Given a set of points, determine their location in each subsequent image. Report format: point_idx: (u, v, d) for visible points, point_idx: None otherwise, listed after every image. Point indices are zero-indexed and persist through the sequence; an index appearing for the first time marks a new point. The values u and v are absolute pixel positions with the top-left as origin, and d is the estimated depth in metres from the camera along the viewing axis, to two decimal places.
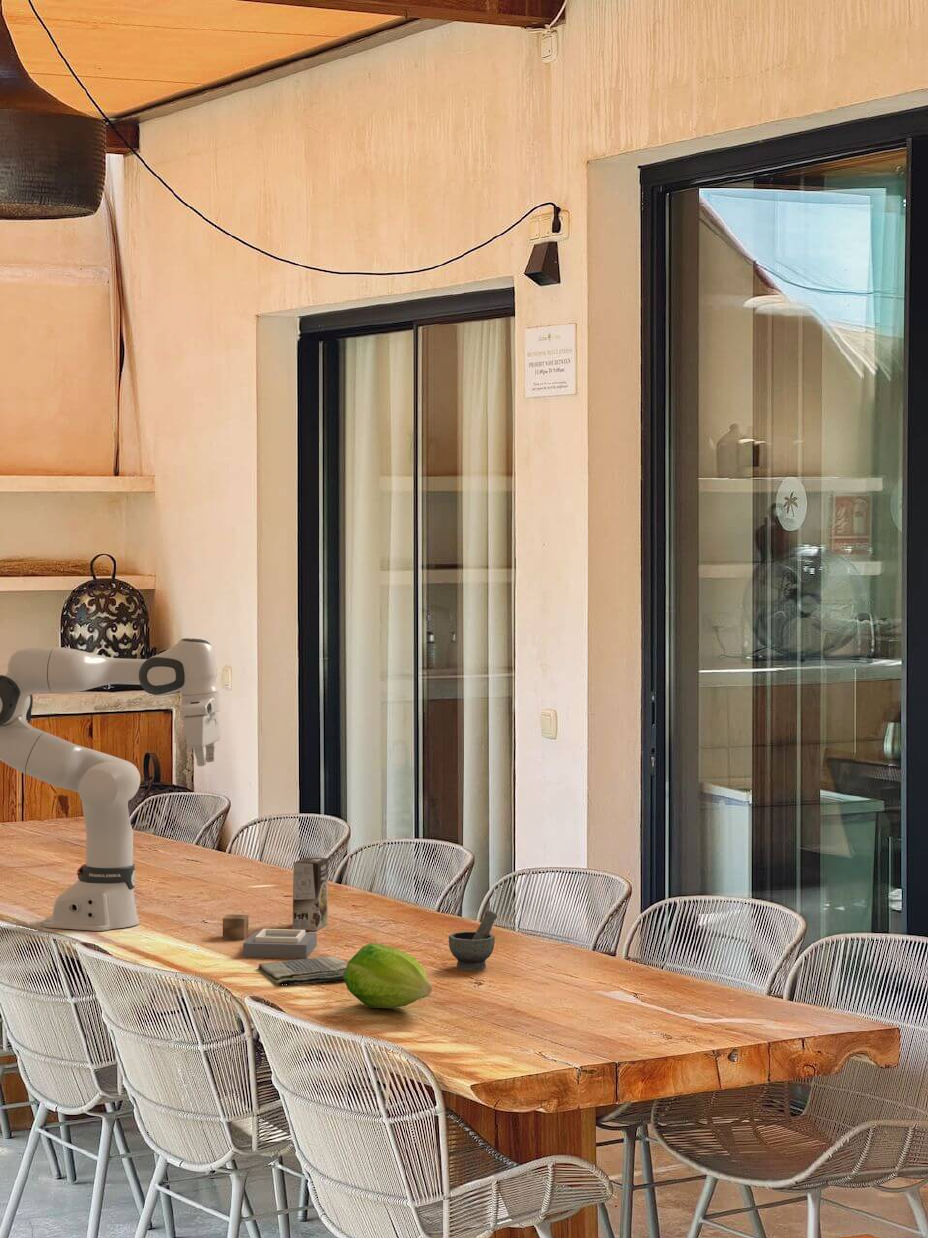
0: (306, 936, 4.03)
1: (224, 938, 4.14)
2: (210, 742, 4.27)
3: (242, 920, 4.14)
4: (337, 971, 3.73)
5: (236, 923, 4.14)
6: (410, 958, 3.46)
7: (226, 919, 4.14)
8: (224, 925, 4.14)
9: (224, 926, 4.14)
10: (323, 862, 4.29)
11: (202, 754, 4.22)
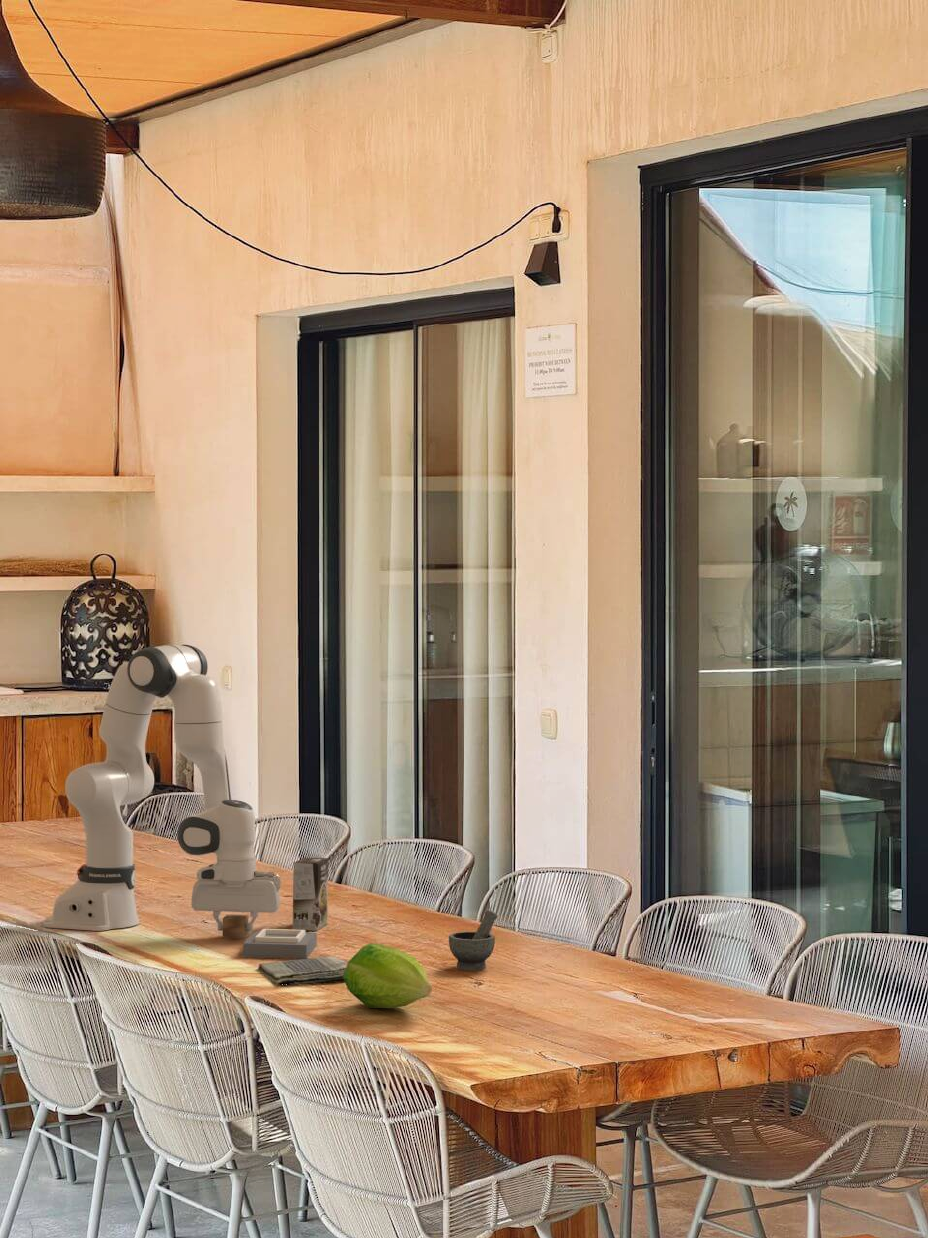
0: (306, 936, 4.03)
1: (224, 938, 4.14)
2: (229, 910, 4.15)
3: (242, 920, 4.14)
4: (337, 971, 3.73)
5: (236, 923, 4.14)
6: (410, 958, 3.46)
7: (226, 919, 4.14)
8: (224, 925, 4.14)
9: (224, 926, 4.14)
10: (323, 862, 4.29)
11: None
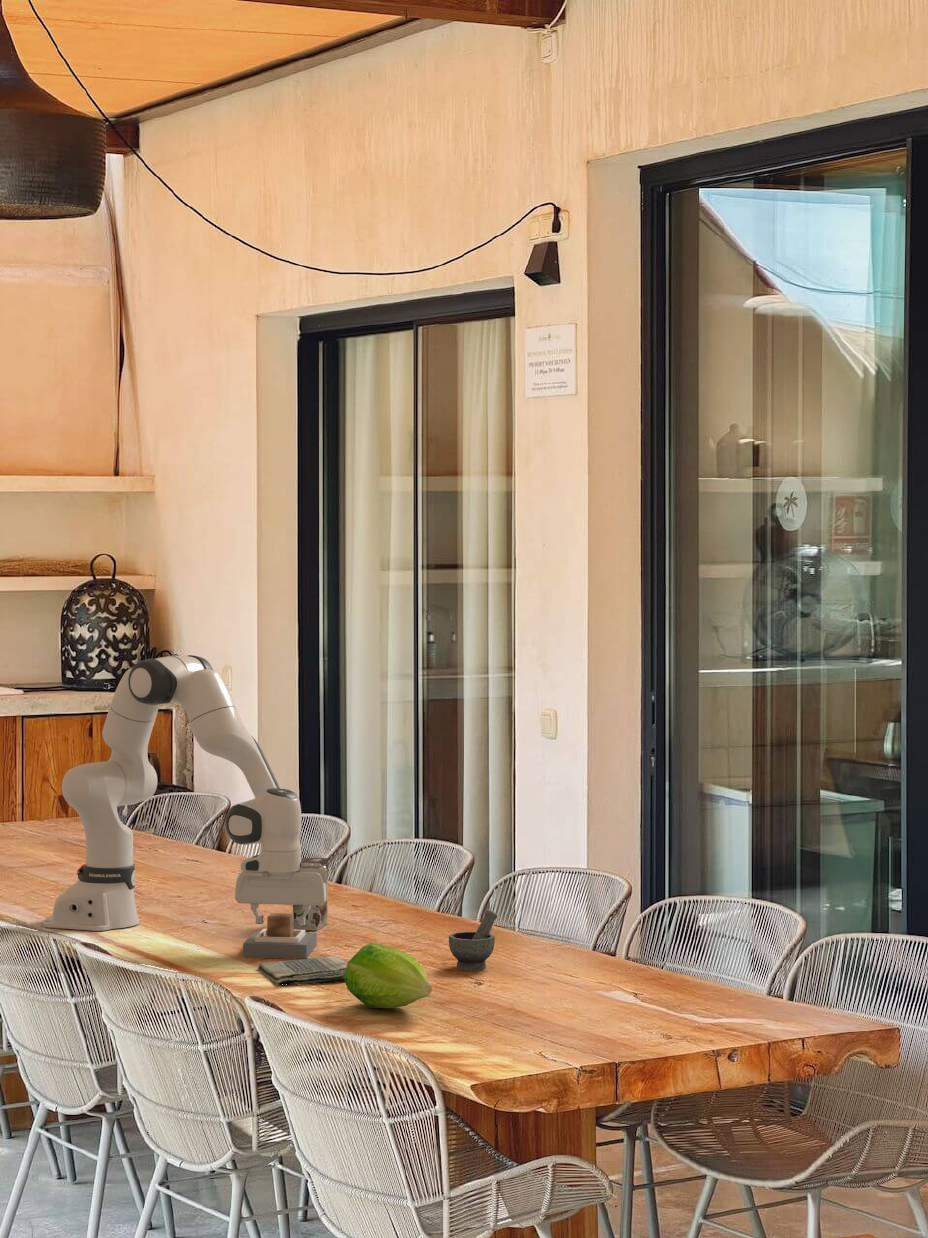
0: (306, 936, 4.03)
1: None
2: (274, 902, 4.00)
3: (287, 919, 3.99)
4: (337, 971, 3.74)
5: (281, 923, 3.99)
6: (410, 958, 3.46)
7: (271, 918, 3.99)
8: (269, 924, 3.99)
9: (269, 925, 3.99)
10: (323, 862, 4.29)
11: (252, 911, 4.01)
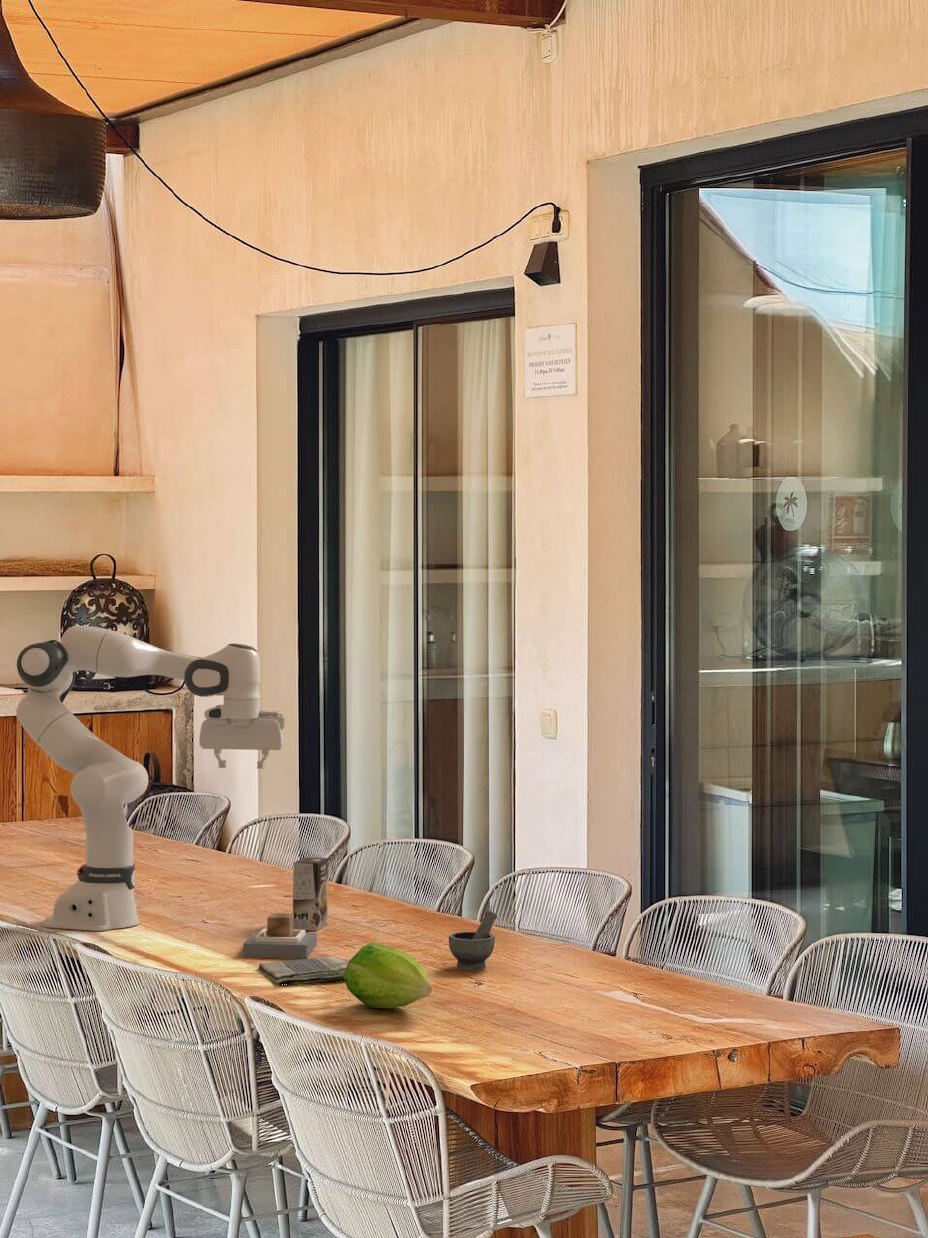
0: (306, 936, 4.03)
1: None
2: (235, 747, 4.34)
3: (287, 919, 3.99)
4: (337, 971, 3.74)
5: (281, 923, 3.99)
6: (410, 958, 3.46)
7: (271, 918, 3.99)
8: (269, 924, 3.99)
9: (269, 925, 3.99)
10: (323, 862, 4.29)
11: None
